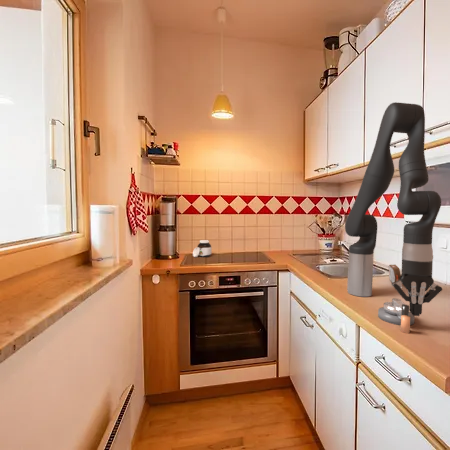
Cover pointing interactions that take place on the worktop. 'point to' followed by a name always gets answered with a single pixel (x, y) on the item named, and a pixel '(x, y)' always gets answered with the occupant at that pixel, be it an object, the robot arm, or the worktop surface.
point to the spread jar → (203, 249)
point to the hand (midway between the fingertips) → (415, 314)
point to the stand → (397, 319)
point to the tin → (394, 273)
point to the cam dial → (396, 308)
